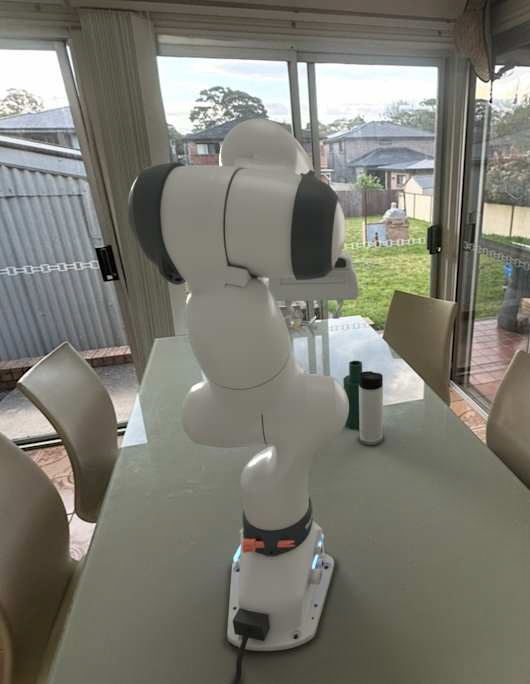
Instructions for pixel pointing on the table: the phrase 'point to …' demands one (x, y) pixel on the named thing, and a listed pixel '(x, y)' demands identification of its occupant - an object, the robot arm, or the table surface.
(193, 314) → the robot arm
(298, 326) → the flower vase
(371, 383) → the travel mug
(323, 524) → the table surface
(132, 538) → the table surface
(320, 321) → the table surface
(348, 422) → the green bottle
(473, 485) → the table surface
